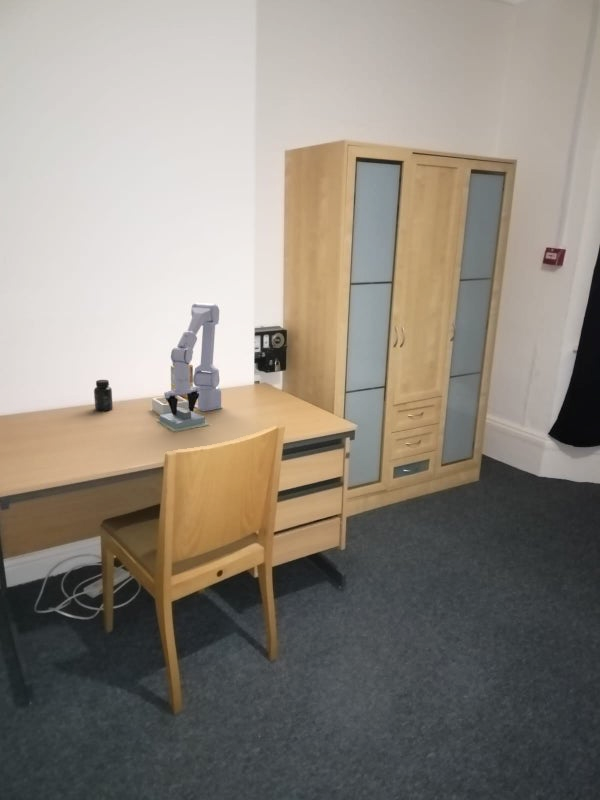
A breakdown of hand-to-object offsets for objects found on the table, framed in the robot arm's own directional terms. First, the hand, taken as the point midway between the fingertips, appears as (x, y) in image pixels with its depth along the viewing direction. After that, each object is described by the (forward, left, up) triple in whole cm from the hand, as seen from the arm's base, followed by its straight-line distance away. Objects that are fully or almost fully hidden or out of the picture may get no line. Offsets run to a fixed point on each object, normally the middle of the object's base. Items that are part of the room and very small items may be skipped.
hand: (182, 412), depth 220 cm
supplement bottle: (+20, -32, -4) cm, 38 cm away
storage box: (-2, -16, -4) cm, 17 cm away
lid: (0, -1, -4) cm, 4 cm away
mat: (0, 0, -4) cm, 4 cm away
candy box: (-14, -30, -4) cm, 33 cm away
